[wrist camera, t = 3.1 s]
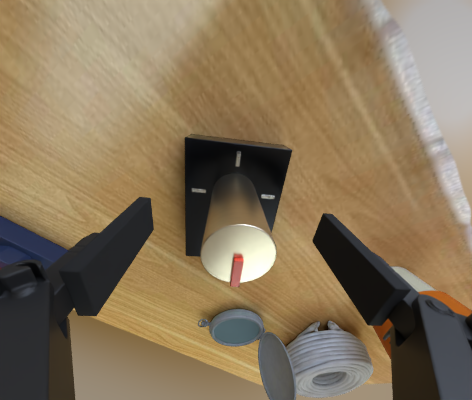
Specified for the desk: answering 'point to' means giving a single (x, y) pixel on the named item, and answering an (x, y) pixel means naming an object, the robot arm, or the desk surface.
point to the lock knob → (236, 233)
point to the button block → (25, 246)
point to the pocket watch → (269, 352)
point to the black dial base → (226, 162)
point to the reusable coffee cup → (421, 289)
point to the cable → (328, 361)
